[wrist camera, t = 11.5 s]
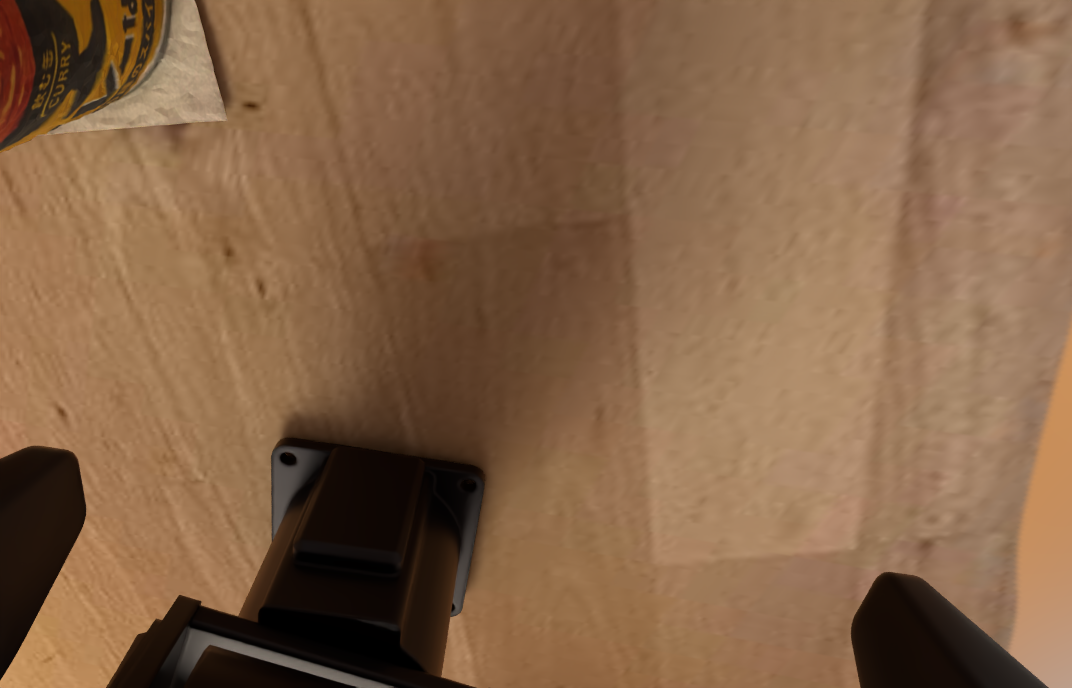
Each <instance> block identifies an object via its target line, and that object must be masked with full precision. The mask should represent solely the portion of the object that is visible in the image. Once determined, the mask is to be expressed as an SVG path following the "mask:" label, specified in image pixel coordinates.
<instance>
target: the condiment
mask: <svg viewBox="0 0 1072 688" xmlns="http://www.w3.org/2000/svg"><path fill="white" fill-rule="evenodd" d="M208 121H228V120H227V117H226V112H225V109H224V104H223V101H222V99H221V95H220V91H219V88H218V84H217V80H216V77H215V74H214V70H213V64H212V60H211V57H210V54H209V51H208V48H207V45H206V40H205V34H204V31H203V27H202V24H201V21H200V17H199V13H198V9H197V5H196V3H195V0H0V153H1V152H3V151H6V150H10V149H11V148H13V147H14V146H17V145H19V144H22V143H25V142H27V141H30V140H31V139H32V138H34V137H36V136H42V135H52V134H61V133H72V132H83V131H96V130H110V129H120V128H133V127H144V126H155V125H172V124H181V123H193V122H208Z"/></svg>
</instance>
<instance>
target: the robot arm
mask: <svg viewBox="0 0 1072 688" xmlns="http://www.w3.org/2000/svg"><path fill="white" fill-rule="evenodd" d="M285 452H289V453H292V454H293V455H294V456H295V457H290V456H288V455H286V454H285ZM464 480H472V481H474V482H475V483H473V484H468V483H465V482H464ZM271 481H272V543H271V546H270V548H269V550H268V552H267V554H266V557H265V559H264V561H263V563H262V565H261V568H260V570H259V572H258V574H257V576H256V578H255V581H254V583H253V585H252V587H251V589H250V592H249V594H248V596H247V598H246V600H245V603H244V605H243V607H242V609H241V611H240V613H239V616H235V615H231V614H228V613H225V612H221V611H218V610H215V609H211V608H208V607H204V606H201V601H199V600H195V599H192V598H188V597H185V596H182V595H179V596H178V598H177V599H176V601H175V602H174V604H173V605H172V607H171V608H170V610H169V611H168V613H167V614H166V616H165V617H164V619H163V620H159V619H156V620H155V621H154V622H153V624H152V625H151V627H150V628H149V630H148V631H147V632H145V633H142V634H138V635H137V637H136V638H135V640H134V642H133V643H132V645H131V647H130V649H129V650H128V652H127V654H126V655H125V657H124V659H123V661H122V662H121V664H120V666H119V667H118V669H117V671H116V672H115V674H114V676H113V677H112V679H111V681H110V682H109V684H108V685H107V687H106V688H476V687H472V686H469V685H466V684H462V683H459V682H456V681H452V680H449V679H446V678H442V677H441V675H442V668H443V662H444V655H445V649H446V642H447V635H448V629H449V622H450V617H453V616H456V615H458V614H459V613H461V611H462V608H463V602H464V597H465V591H466V586H467V580H468V575H469V569H470V564H471V558H472V553H473V547H474V542H475V536H476V531H477V525H478V520H479V514H480V509H481V503H482V498H483V492H484V486H485V474H484V473H483V471H482V470H481V469H480V468H478V467H476V466H473V465H468V464H461V463H454V462H448V461H441V460H435V459H428V458H422V457H415V456H408V455H402V454H395V453H389V452H382V451H376V450H369V449H362V448H356V447H349V446H343V445H336V444H329V443H323V442H316V441H310V440H303V439H297V438H284V439H282V440H280V441H279V442H278V443H277V444H276V446H275V448H274V450H273V452H272V456H271ZM85 517H86V503H85V497H84V491H83V485H82V479H81V474H80V468H79V463H78V459H77V457H76V456H75V454H74V453H73V452H71V451H69V450H65V449H58V448H51V447H44V446H30V447H27V448H24V449H21V450H19V451H17V452H15V453H12V454H10V455H8V456H6V457H3V458H1V459H0V680H1V678H2V677H3V675H4V674H5V672H6V670H7V669H8V667H9V666H10V664H11V662H12V661H13V659H14V657H15V655H16V654H17V652H18V650H19V648H20V647H21V645H22V643H23V641H24V639H25V637H26V636H27V634H28V632H29V630H30V628H31V626H32V624H33V622H34V620H35V618H36V616H37V614H38V612H39V611H40V609H41V607H42V605H43V603H44V601H45V599H46V597H47V595H48V593H49V591H50V589H51V588H52V586H53V584H54V582H55V580H56V578H57V576H58V574H59V572H60V570H61V568H62V566H63V564H64V563H65V561H66V559H67V557H68V555H69V553H70V551H71V549H72V547H73V545H74V543H75V541H76V539H77V538H78V536H79V534H80V532H81V530H82V527H83V524H84V521H85ZM851 639H852V645H853V651H854V656H855V661H856V666H857V671H858V677H859V682H860V687H861V688H1048V687H1047V686H1046V685H1045V684H1044V683H1043V682H1041V681H1040V680H1039V679H1038V678H1037V677H1036V676H1034V675H1033V674H1032V673H1031V672H1030V671H1029V670H1027V669H1026V668H1025V667H1024V666H1023V665H1022V664H1020V663H1019V662H1018V661H1017V660H1016V659H1015V658H1014V657H1012V656H1011V655H1010V654H1009V653H1008V652H1007V651H1006V650H1004V649H1003V648H1002V647H1001V646H1000V645H999V644H997V643H996V642H995V641H994V640H993V639H992V638H991V637H989V636H988V635H987V634H986V633H985V632H984V631H982V630H981V629H980V628H979V627H978V626H977V625H975V624H974V623H973V622H972V621H971V620H970V619H969V618H967V617H966V616H965V615H964V614H963V613H962V612H960V611H959V610H958V609H957V608H956V607H955V606H954V605H952V604H951V603H950V602H949V601H948V600H947V599H945V598H944V597H943V596H942V595H941V594H940V593H938V592H937V591H936V590H935V589H934V588H933V587H932V586H930V585H929V584H928V583H927V582H926V581H924V580H923V579H921V578H920V577H917V576H914V575H907V574H900V573H894V572H884V573H882V574H881V575H879V576H878V577H877V578H876V580H875V581H874V583H873V585H872V586H871V588H870V590H869V592H868V593H867V595H866V597H865V599H864V600H863V602H862V604H861V606H860V607H859V609H858V611H857V612H856V614H855V616H854V619H853V622H852V627H851Z"/></svg>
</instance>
